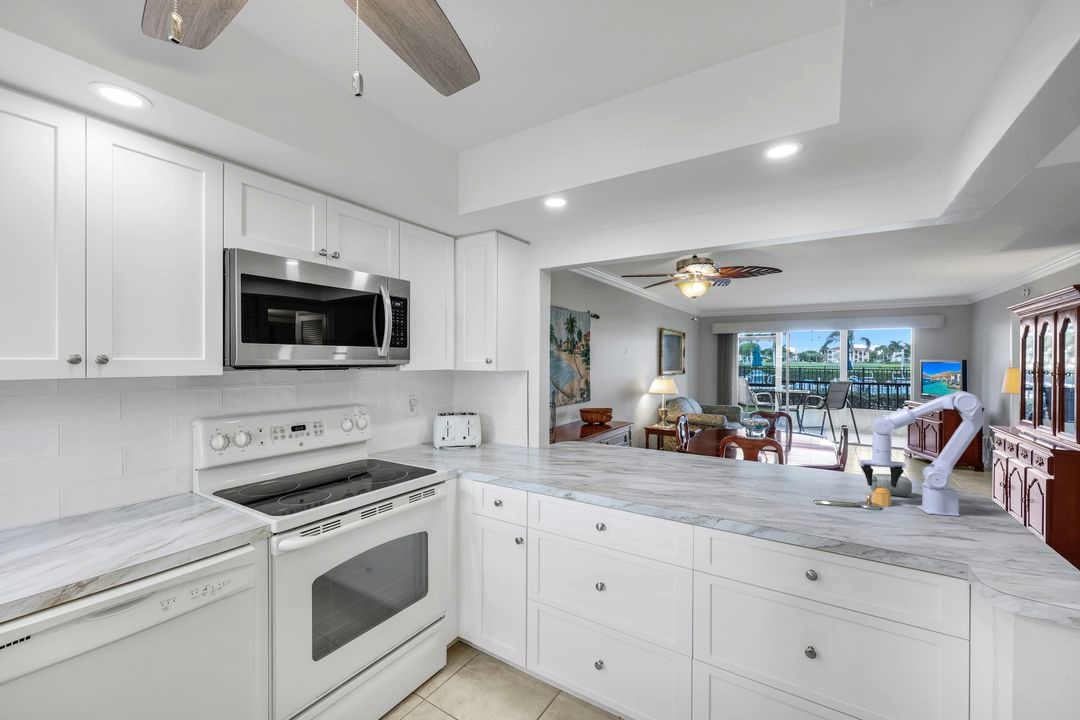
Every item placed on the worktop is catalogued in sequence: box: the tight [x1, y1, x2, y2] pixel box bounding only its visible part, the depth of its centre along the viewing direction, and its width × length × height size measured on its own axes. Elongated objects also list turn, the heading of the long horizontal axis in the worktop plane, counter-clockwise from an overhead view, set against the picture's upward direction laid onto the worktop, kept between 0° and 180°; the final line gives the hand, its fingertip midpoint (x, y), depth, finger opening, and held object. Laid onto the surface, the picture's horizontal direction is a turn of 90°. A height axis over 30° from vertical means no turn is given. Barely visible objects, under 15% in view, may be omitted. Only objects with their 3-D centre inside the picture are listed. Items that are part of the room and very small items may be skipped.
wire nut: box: [872, 487, 892, 507], centre depth 173 cm, size 5×5×6 cm
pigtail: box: [813, 493, 882, 511], centre depth 172 cm, size 21×7×4 cm, turn 75°
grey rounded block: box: [869, 473, 913, 498], centre depth 184 cm, size 14×10×10 cm
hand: (881, 486), depth 173 cm, fingers open, 7 cm apart
